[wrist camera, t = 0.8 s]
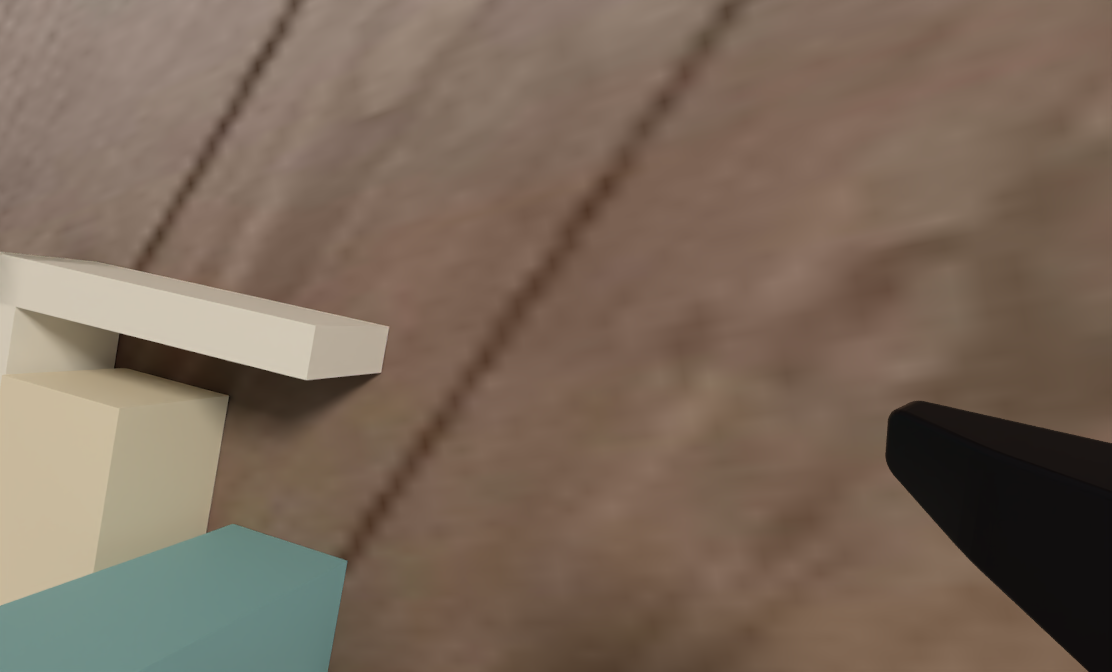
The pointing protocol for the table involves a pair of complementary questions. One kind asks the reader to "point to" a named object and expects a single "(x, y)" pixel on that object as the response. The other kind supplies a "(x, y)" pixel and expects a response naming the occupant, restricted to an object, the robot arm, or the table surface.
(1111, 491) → the robot arm
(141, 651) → the teal blank
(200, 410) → the cubby
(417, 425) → the table surface
